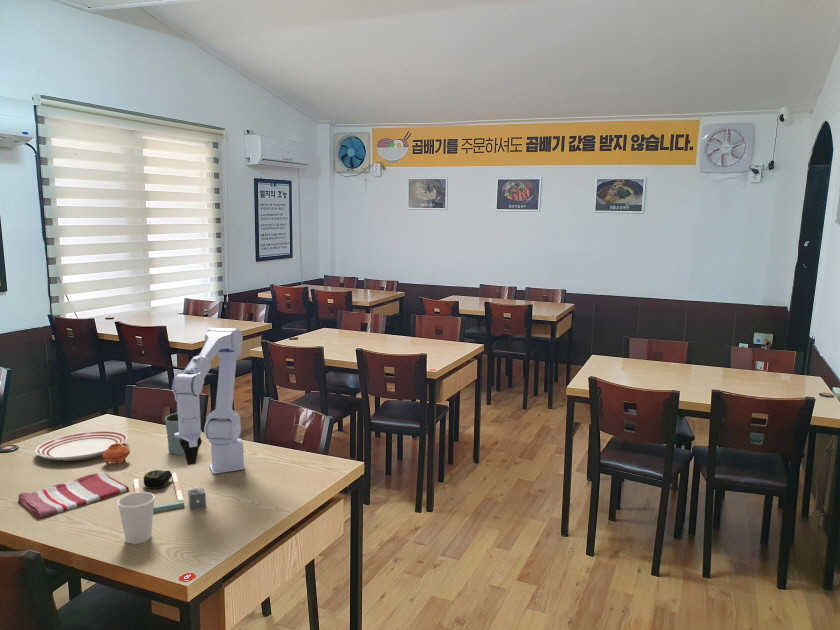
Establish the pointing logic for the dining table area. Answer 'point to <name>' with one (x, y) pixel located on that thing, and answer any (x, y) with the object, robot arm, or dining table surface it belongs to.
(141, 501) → the dixie cup
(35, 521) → the dining table surface
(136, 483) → the track
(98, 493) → the dish towel
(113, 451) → the pot
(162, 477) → the tape measure
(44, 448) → the dinner plate
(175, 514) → the dining table surface
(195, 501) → the die
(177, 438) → the teal cylindrical container
